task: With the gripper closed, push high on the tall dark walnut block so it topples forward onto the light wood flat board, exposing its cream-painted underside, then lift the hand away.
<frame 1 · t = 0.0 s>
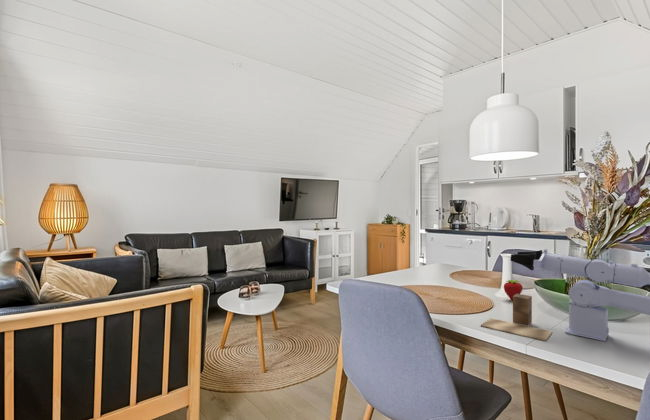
hand: (514, 256, 116), 22 cm above the table, tool horizontal, fingers open, 7 cm apart
walnut block: (522, 323, 113), on the table
light wood flat board: (515, 329, 107), on the table
strawberry: (513, 301, 140), on the table
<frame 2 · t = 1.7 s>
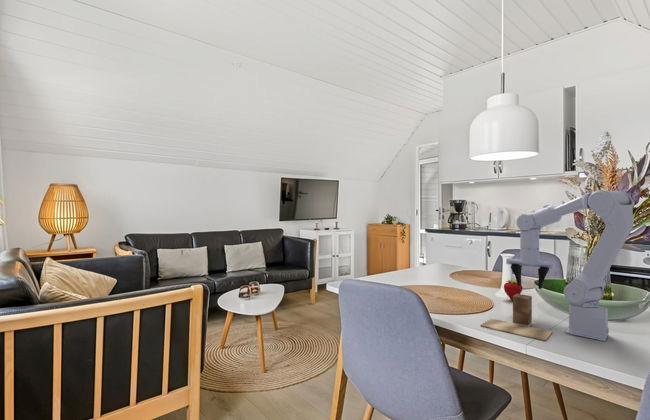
hand: (529, 286, 119), 10 cm above the table, tool pointing down, fingers open, 6 cm apart
nothing on the table moved.
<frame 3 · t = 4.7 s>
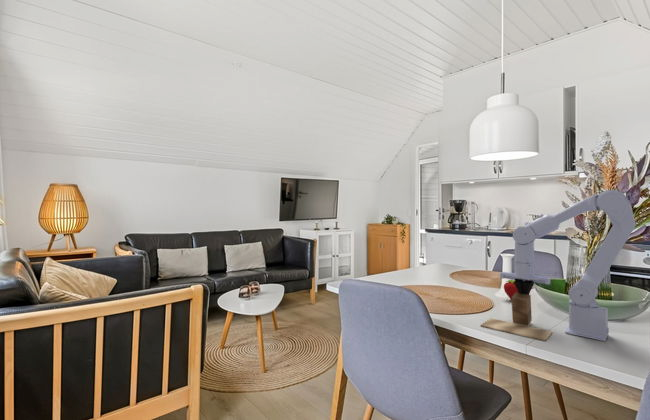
hand: (524, 302, 114), 6 cm above the table, tool pointing down, fingers closed
walnut block: (522, 322, 113), on the table, tilted 10°
everything else where it was.
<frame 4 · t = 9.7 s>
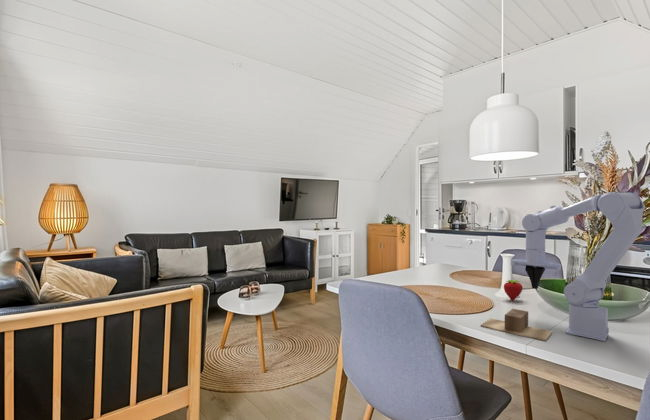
hand: (535, 288, 118), 10 cm above the table, tool pointing down, fingers closed
walnut block: (520, 316, 111), point 3 cm above the table, tilted 90°, touching light wood flat board
everything else where it was.
at the end: walnut block tilted 90°; walnut block inside the target area (1.4 cm from its centre), point 2.6 cm above the table; walnut block touching light wood flat board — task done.
